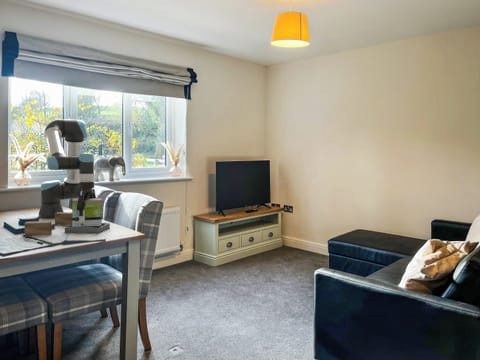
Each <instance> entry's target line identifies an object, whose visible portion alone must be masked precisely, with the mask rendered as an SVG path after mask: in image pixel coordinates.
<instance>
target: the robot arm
mask: <svg viewBox="0 0 480 360" xmlns="http://www.w3.org/2000/svg"><path fill="white" fill-rule="evenodd" d="M43 130H44V131H43V135H44V138H45V139H46V141H47V147H48V152H49V156H48V157H47V159H46V160H47V161H46V163H47V169H48V170H50V171H51V170H52V171H64V170H65V171H66V177H65V178H64V179H63V182H62V181H61V180H59V179H57V180H48V181H44V182H42V183H40V203H41V204H40V208H39V212H38V218H40V219H55V213H57V212H65V211H64V209H63V206H62V201H63V200H65V201H66V200H73V198H78V203H77V210H79V222H85V210H84V207H85V200H87V199H88V198H97V196H96V190H95V159H94V156H95V155H94V153H91V152H82V144H84V142H85V139H87V138H88V131H87V127H86V123H85V121H84V120H81V119H65V118H64V119H63V118H57V119H56V118H55V119H53V120H52V121H50V122H49V123H47V124H46V126H45V127H44V129H43ZM62 139H64V141H65V143H66V154H65V151H64V145H63V141H62ZM83 201H84V202H83Z"/></svg>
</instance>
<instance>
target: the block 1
mask: <svg viewBox="0 0 480 360" xmlns="http://www.w3.org/2000/svg"><path fill="white" fill-rule="evenodd" d="M23 226H24V237H45V236H46V237H47V236H49V237H50V236H51V235H52V234H53V232H52V230H53V229H52V228H53V227H52V220H46V221H45V220H44V221H39V220H38V221H26V222H24V223H23Z"/></svg>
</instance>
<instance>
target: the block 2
mask: <svg viewBox="0 0 480 360" xmlns="http://www.w3.org/2000/svg"><path fill="white" fill-rule="evenodd" d="M54 225H56V226H69V225H72V211H71V212H70V211H68V212H67V211H66V212H65V211H64V212H57V213H55V218H54Z"/></svg>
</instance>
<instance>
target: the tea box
mask: <svg viewBox="0 0 480 360" xmlns="http://www.w3.org/2000/svg"><path fill="white" fill-rule="evenodd" d="M83 202H84V201H83ZM71 203H72V204H71V205H72V206H71V213H72V226H73V227H82V226H101V224H102V223H103V222H102V218H103V217H102V213H103V211H102V209H103V207H102V198H101V197H96V198H88V199H87V200H85V207H84V210H85V222H79V210H77V203H78V198H73V199H72V202H71Z"/></svg>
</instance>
